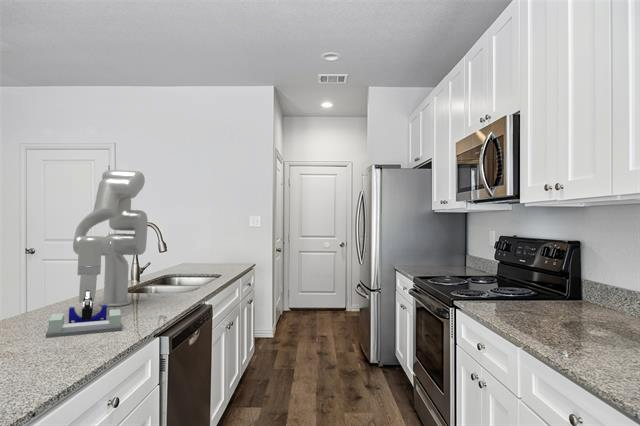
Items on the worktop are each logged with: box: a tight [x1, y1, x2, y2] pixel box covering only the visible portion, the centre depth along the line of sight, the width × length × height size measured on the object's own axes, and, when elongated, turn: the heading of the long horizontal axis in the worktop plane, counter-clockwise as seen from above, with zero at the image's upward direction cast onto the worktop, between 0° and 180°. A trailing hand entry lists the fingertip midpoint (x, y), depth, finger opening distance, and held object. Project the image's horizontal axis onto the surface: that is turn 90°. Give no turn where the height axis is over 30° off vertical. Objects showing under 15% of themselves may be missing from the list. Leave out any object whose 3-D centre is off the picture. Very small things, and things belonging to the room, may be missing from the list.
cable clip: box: [68, 305, 108, 323], centre depth 149 cm, size 12×4×6 cm, turn 119°
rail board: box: [45, 308, 123, 339], centre depth 139 cm, size 12×22×5 cm, turn 118°
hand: (87, 316), depth 149 cm, fingers open, 9 cm apart
